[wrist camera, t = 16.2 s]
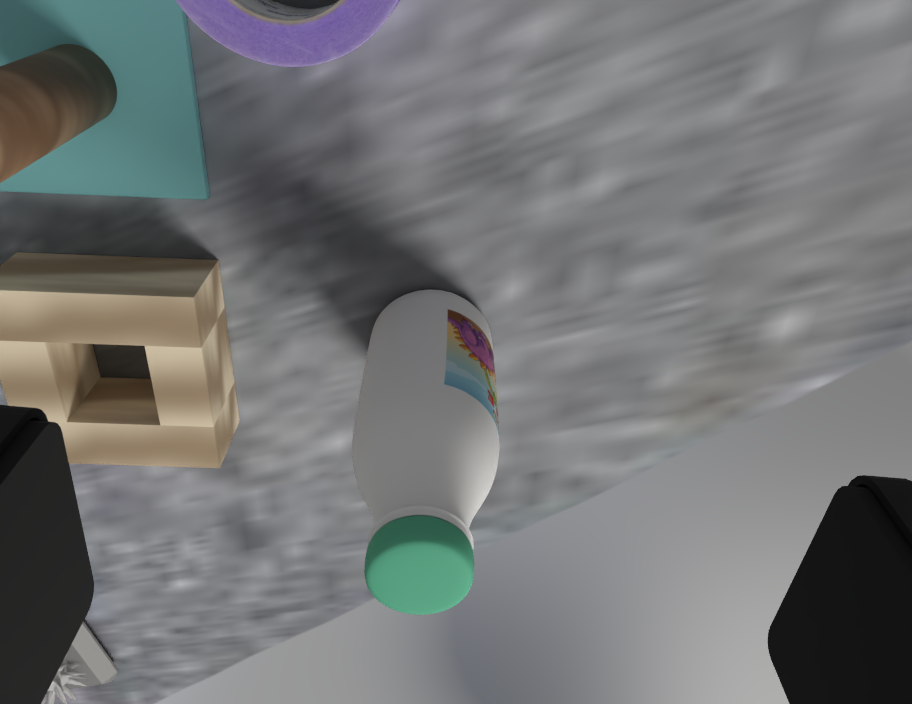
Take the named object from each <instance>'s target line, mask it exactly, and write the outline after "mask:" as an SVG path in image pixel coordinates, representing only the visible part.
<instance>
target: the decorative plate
mask: <svg viewBox="0 0 912 704" xmlns="http://www.w3.org/2000/svg"><path fill="white" fill-rule="evenodd" d="M117 672H118V668H117V667H116V666H115V664H114V663H113V661H112V660H111V659H110V657H109V656H108V654H107V653H106V652H105V650H104V649H103V648H102V646H101V645H100V643H99V642H98V641H97V639H96V638H95V637H94V635H93V634H92V632H91V631H90V630H89V628H88V627H87V625H86V624H85V623H84V621H83V623H82V625H81V627H80V629H79V631H78V633H77V635H76V637H75V639H74V640H73V642H72V644H71V646H70V648H69V650H68V652H67V654H66V656H65V658H64V660H63V662H62V664H61V666H60V668H59V670H58V672H57V674H56V676H55V678H54V679H53V681H52V683H51V685H50V687H49V689H48V691H47V693H46V695H45V697H44V699H43V701H42V703H41V704H45V703H46V700H47V704H54V699H55V693H56V695H57V696H58V697H59V699H61V700H62V701H63V703H65V704H67V702H66V699H65V696H64V694H63V691H64V692H65V693H66V694H67V695H68V696H69V697H70V698H71V697H72V698H74V699H75V697H74V696H73V694H72V692H71V690H70V689H72V688H79V687H86V686H93V685H100V684H104V683H108V682H111V681H113V679H114V677H115V676H116V674H117ZM62 690H63V691H62ZM72 698H71V699H72ZM75 700H76V699H75Z"/></svg>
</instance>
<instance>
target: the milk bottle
mask: <svg viewBox="0 0 912 704" xmlns="http://www.w3.org/2000/svg"><path fill="white" fill-rule="evenodd" d="M498 457H499V422H498V408H497V393H496V381H495V369H494V357H493V346H492V339H491V333H490V329H489V326H488V324H487V322H486V320H485V318H484V317H483V315H482V314H481V313H480V311H479V310H478V309H477V308H476V307H475V306H474V305H473V304H471V303H470V302H469V301H467V300H465V299H464V298H462V297H460V296H458V295H456V294H453V293H450V292H446V291H442V290H431V289H428V290H419V291H415V292H412V293H408V294H405V295H403V296H401V297H399V298H397V299H396V300H394V301H393V302H391V303H390V304H389V305H388V306H387V307H386V308H385V309H384V310H383V311H382V312H381V313H380V315H379V316H378V318H377V320H376V322H375V324H374V327H373V330H372V334H371V338H370V343H369V348H368V353H367V358H366V363H365V368H364V374H363V379H362V384H361V389H360V395H359V401H358V406H357V412H356V418H355V425H354V433H353V442H352V458H353V467H354V473H355V477H356V481H357V484H358V487H359V489H360V492H361V494H362V496H363V498H364V500H365V502H366V504H367V506H368V507H369V509H370V511H371V514H372V516H373V520H374V526H373V527H372V529H371V531H370V534H369V538H368V548H367V553H366V558H365V579H366V583H367V586H368V588H369V590H370V592H371V593H372V595H373V596H374V597H375V598H376V599H377V600H378V601H379V602H381V603H382V604H384V605H385V606H387V607H389V608H391V609H394V610H396V611H399V612H403V613H408V614H419V615H420V614H421V615H422V614H432V613H437V612H441V611H444V610H447V609H449V608H451V607H453V606H455V605H456V604H458V603H459V602H460V601H461V600H462V599H463V598H464V597H465V596H466V595H467V593H468V592H469V590H470V588H471V585H472V582H473V578H474V557H473V537H472V534H471V532H470V530H469V526H470V524H471V521H472V519H473V517H474V515H475V514H476V512H477V511H478V509H479V508H480V507H481V505H482V503H483V502H484V500H485V498H486V497H487V495H488V493H489V491H490V488H491V486H492V484H493V481H494V478H495V474H496V470H497V465H498Z"/></svg>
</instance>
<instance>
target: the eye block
mask: <svg viewBox="0 0 912 704" xmlns="http://www.w3.org/2000/svg"><path fill="white" fill-rule="evenodd" d="M93 344H108V345H135V346H145V351H146V356H147V361H148V366H149V371H150V376H151V379H140V378H112V377H100V373H99V369H98V364H97V360H96V356H95V352H94V348H93ZM0 381H1V384H2V387H3V390H4V393H5V396H6V399H7V403H8V406H19V407H31V408H38V409H41V410H42V411H43V412H44V413H45V414H46V416H47V419H48V422H55V423H58V425H59V426H60V427H61V430H62V433H63V438H64V443H65V448H66V452H67V457H68V462H69V463H79V464H110V465H141V466H172V467H203V468H220V467H221V464H222V462H223V459H224V457H225V455H226V452H227V450H228V447H229V445H230V443H231V440H232V438H233V435H234V433H235V430H236V428H237V426H238V423H239V421H240V420H239V413H238V405H237V398H236V390H235V382H234V375H233V367H232V360H231V352H230V344H229V337H228V329H227V322H226V314H225V306H224V299H223V291H222V284H221V276H220V268H219V261H218V260H206V259H180V258H155V257H129V256H103V255H77V254H51V253H26V252H17V253H15V254H14V255H13V256H12V257H10V258H9V259H8V260H7V261H5V262H4V263H3V264H2V265H0Z"/></svg>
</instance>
